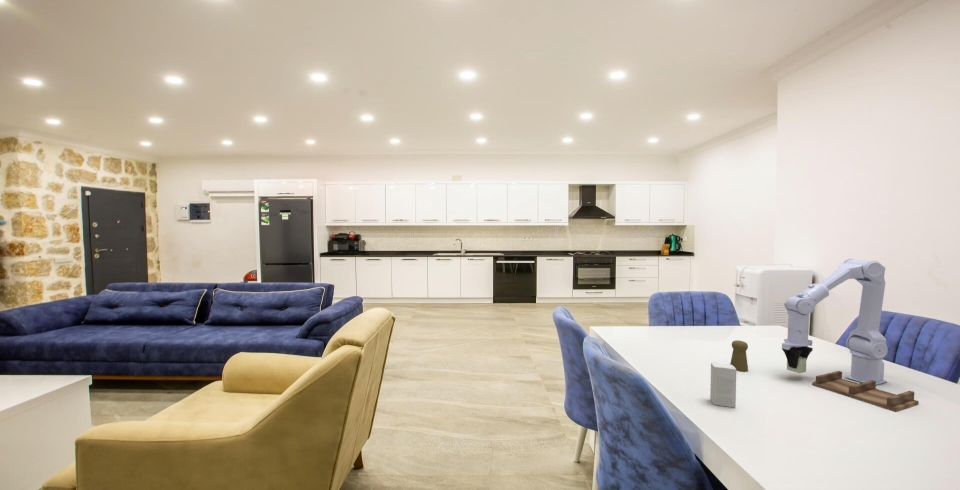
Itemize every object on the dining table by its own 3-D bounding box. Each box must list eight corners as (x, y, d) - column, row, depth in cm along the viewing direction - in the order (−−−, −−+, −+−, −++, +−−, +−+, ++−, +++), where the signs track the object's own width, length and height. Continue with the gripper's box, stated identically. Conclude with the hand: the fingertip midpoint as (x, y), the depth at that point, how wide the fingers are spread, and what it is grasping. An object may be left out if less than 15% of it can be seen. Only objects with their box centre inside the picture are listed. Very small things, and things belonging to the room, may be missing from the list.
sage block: (793, 368, 140) (793, 354, 140) (806, 371, 136) (806, 358, 136) (786, 369, 139) (787, 356, 138) (799, 373, 135) (799, 359, 135)
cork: (751, 372, 143) (752, 344, 143) (733, 371, 144) (734, 342, 144) (743, 366, 149) (744, 339, 149) (726, 365, 150) (727, 338, 150)
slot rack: (834, 379, 137) (835, 369, 137) (918, 404, 118) (919, 393, 118) (812, 384, 132) (812, 375, 132) (895, 411, 113) (896, 400, 113)
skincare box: (731, 402, 118) (732, 364, 118) (735, 408, 114) (737, 369, 114) (709, 399, 120) (710, 362, 120) (712, 405, 116) (714, 366, 116)
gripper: (797, 325, 143) (796, 360, 144) (773, 329, 138) (771, 365, 138) (819, 330, 137) (818, 366, 137) (795, 334, 131) (793, 372, 132)
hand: (796, 366), depth 137 cm, fingers closed on sage block, 4 cm apart
